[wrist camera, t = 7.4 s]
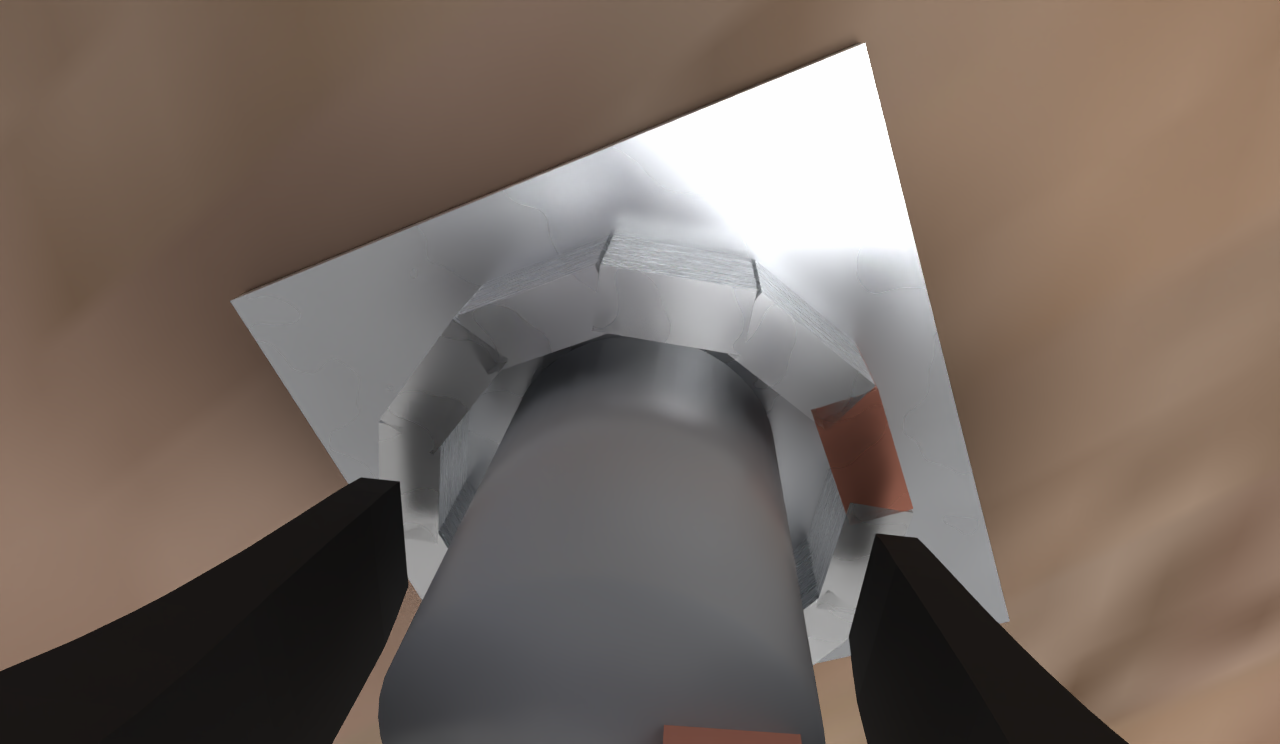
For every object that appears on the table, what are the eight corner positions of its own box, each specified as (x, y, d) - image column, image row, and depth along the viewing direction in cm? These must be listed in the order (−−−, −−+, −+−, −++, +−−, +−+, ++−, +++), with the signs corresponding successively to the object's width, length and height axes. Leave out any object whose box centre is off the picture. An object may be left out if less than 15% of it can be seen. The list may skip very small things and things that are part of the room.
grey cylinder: (519, 556, 14) (387, 935, 8) (500, 330, 12) (307, 615, 6) (764, 570, 14) (809, 975, 8) (786, 340, 12) (870, 649, 6)
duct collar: (243, 293, 13) (168, 335, 11) (859, 42, 10) (891, 45, 9) (512, 715, 17) (488, 796, 15) (1001, 606, 15) (1044, 688, 13)
